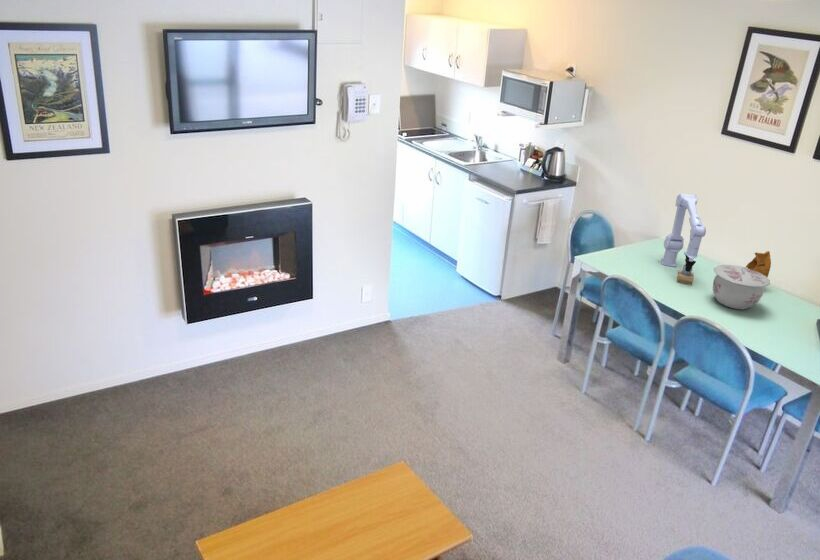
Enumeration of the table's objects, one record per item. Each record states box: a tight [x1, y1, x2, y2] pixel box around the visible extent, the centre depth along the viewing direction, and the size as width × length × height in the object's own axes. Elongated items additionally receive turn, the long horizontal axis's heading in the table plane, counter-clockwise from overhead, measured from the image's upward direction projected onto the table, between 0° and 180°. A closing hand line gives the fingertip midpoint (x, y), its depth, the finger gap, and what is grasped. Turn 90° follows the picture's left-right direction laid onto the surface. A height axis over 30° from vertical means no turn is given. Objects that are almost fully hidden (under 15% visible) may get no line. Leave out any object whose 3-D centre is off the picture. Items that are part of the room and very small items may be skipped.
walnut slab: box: [676, 274, 694, 286], centre depth 378 cm, size 8×8×2 cm
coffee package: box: [745, 250, 772, 278], centre depth 373 cm, size 10×12×22 cm
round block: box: [681, 264, 694, 276], centre depth 376 cm, size 5×5×4 cm
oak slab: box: [677, 269, 695, 283], centre depth 377 cm, size 8×8×2 cm
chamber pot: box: [712, 264, 771, 310], centre depth 351 cm, size 28×28×21 cm
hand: (687, 268), depth 375 cm, fingers open, 7 cm apart
